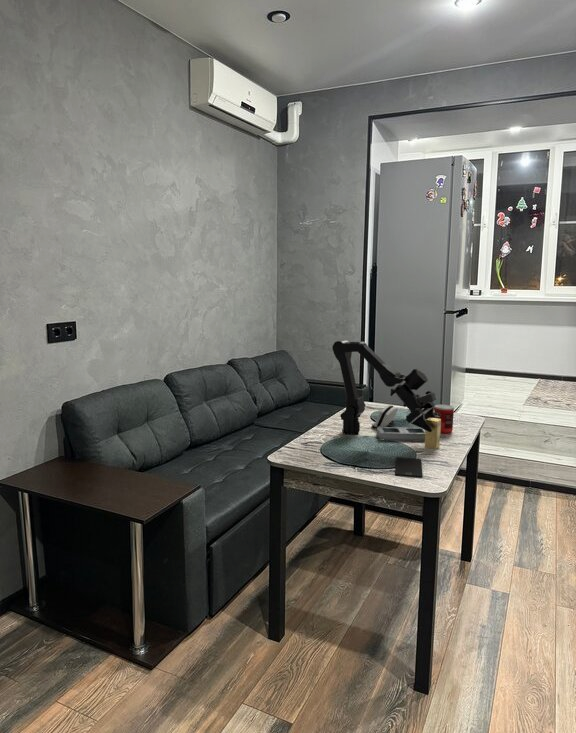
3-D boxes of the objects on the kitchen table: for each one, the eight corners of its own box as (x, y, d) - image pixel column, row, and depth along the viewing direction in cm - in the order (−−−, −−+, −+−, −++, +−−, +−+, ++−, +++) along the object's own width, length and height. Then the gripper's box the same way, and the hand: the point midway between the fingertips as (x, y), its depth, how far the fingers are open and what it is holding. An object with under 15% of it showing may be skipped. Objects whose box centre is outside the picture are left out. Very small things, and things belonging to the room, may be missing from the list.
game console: (383, 419, 249) (390, 400, 246) (392, 424, 247) (400, 405, 244) (370, 427, 234) (378, 407, 231) (380, 432, 233) (388, 412, 229)
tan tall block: (424, 447, 207) (425, 419, 206) (428, 444, 211) (429, 417, 210) (436, 449, 205) (437, 421, 203) (439, 446, 209) (441, 418, 207)
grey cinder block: (380, 440, 216) (380, 433, 215) (376, 434, 225) (377, 427, 224) (429, 441, 216) (430, 433, 215) (424, 434, 224) (425, 427, 224)
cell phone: (395, 476, 177) (395, 473, 177) (396, 459, 194) (396, 456, 194) (422, 478, 175) (422, 476, 175) (421, 461, 193) (421, 458, 192)
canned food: (433, 428, 235) (435, 403, 233) (452, 430, 232) (454, 405, 230) (432, 432, 227) (433, 407, 226) (452, 434, 225) (453, 409, 223)
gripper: (415, 388, 199) (443, 421, 195) (430, 381, 215) (457, 411, 211) (394, 406, 204) (421, 439, 200) (410, 398, 220) (436, 428, 216)
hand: (434, 428), depth 207 cm, fingers open, 9 cm apart
